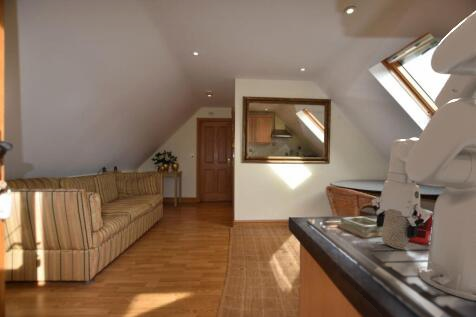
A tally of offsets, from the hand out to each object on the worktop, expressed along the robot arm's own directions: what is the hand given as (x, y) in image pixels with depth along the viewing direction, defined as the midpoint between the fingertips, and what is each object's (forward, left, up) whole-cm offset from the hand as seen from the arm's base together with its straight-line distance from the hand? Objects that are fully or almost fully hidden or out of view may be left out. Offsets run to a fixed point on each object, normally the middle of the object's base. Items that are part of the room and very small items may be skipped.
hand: (394, 231), depth 76 cm
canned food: (+14, +1, -5) cm, 15 cm away
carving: (0, -1, -5) cm, 5 cm away
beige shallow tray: (+4, +13, -5) cm, 15 cm away
